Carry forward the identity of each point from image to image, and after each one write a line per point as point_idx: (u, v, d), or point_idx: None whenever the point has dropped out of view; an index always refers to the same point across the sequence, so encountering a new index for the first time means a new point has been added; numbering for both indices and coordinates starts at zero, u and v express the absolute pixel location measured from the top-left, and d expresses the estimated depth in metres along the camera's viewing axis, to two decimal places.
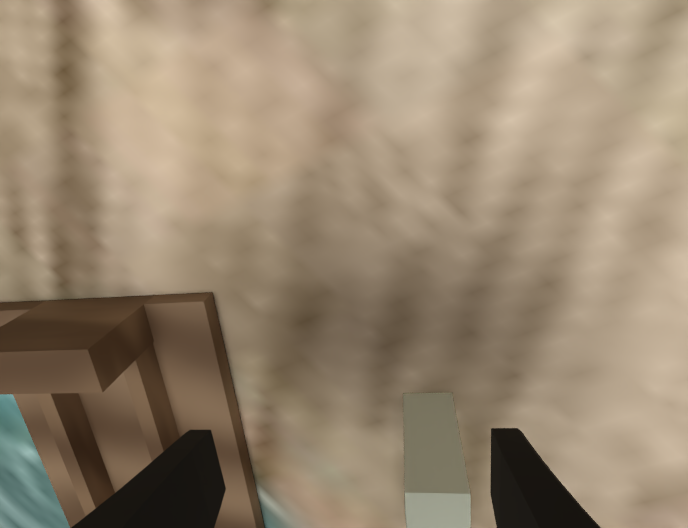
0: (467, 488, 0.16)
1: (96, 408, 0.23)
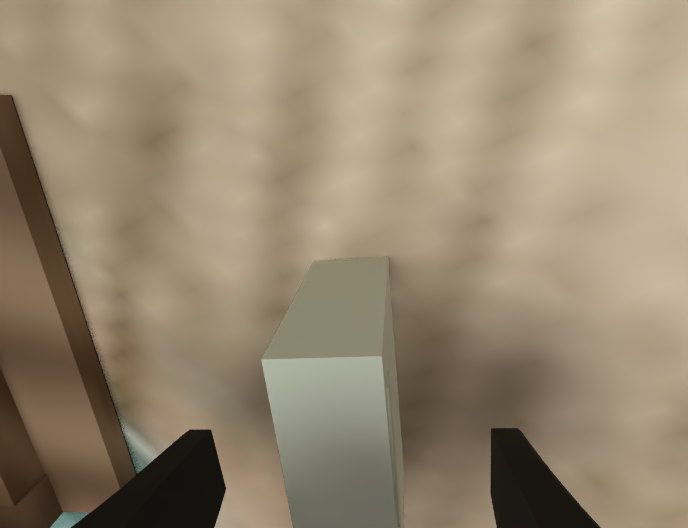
0: (378, 349, 0.09)
1: None
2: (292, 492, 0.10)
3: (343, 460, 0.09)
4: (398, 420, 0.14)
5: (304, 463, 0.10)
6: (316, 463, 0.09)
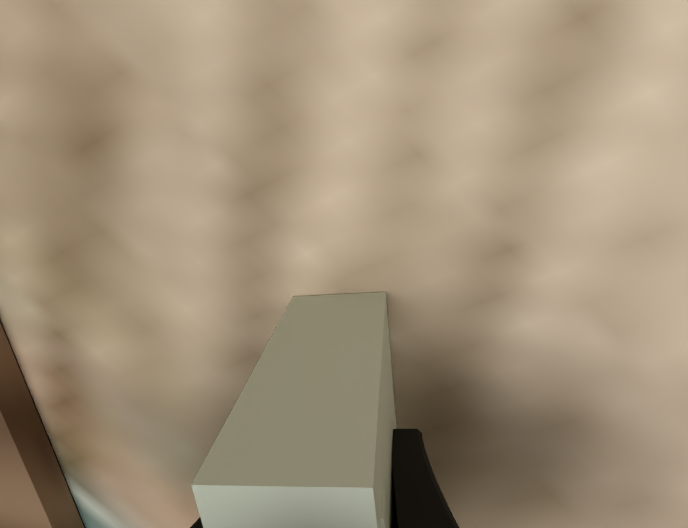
0: (368, 472, 0.06)
1: None
2: None
3: None
4: None
5: None
6: None
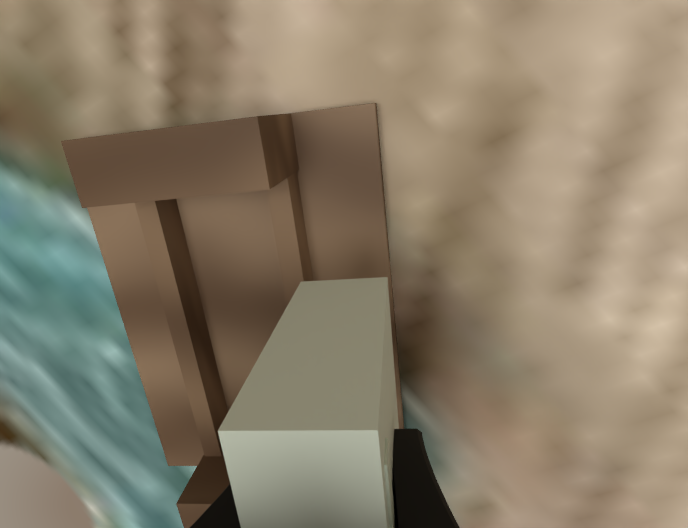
0: (373, 419, 0.06)
1: (211, 275, 0.18)
2: None
3: None
4: None
5: None
6: None
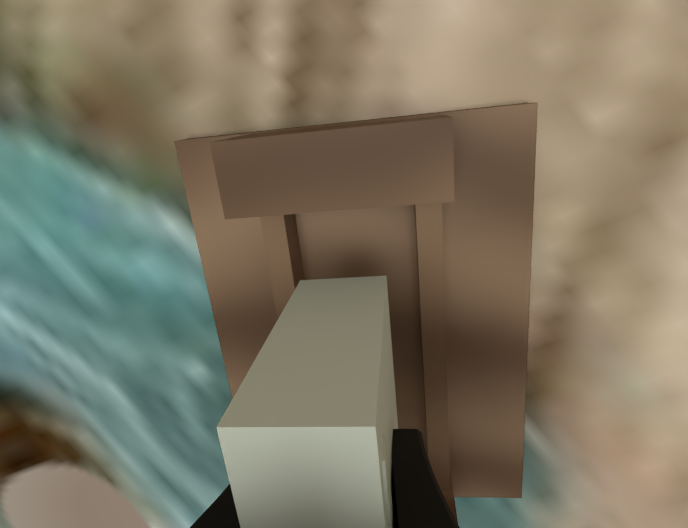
0: (371, 415, 0.06)
1: None
2: None
3: None
4: None
5: None
6: None
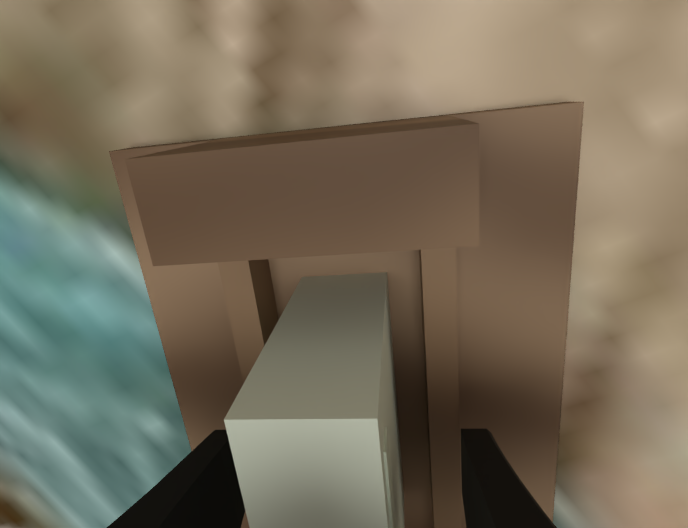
0: (373, 408, 0.07)
1: None
2: None
3: None
4: (398, 460, 0.13)
5: None
6: None
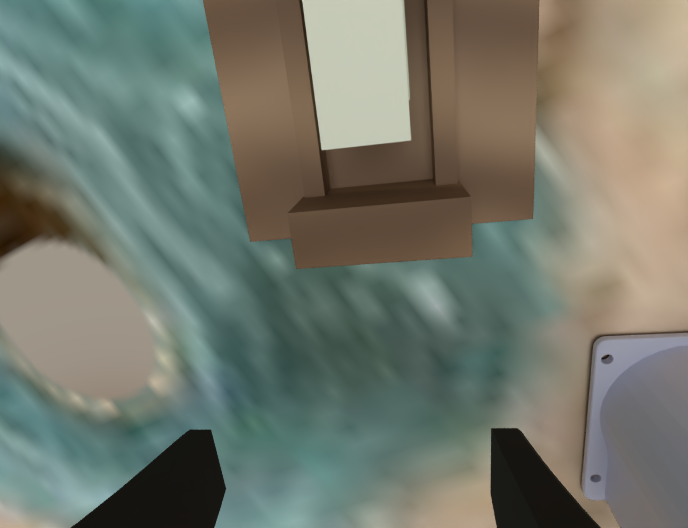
0: None
1: None
2: None
3: None
4: None
5: None
6: None
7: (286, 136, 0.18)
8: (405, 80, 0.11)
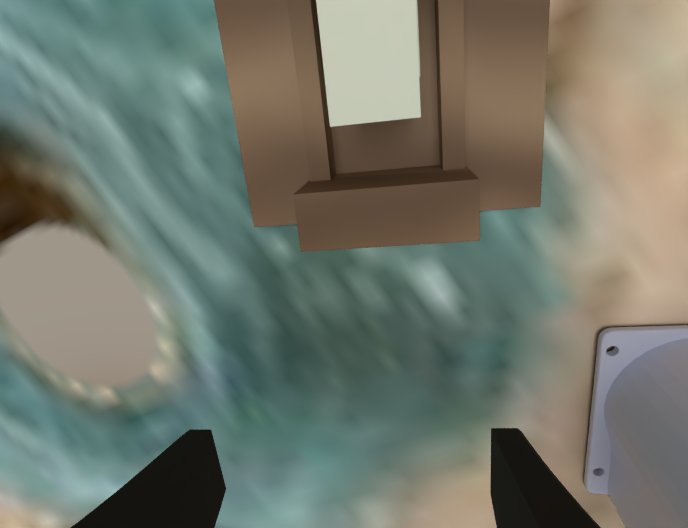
0: None
1: None
2: None
3: None
4: None
5: None
6: None
7: (292, 120, 0.18)
8: (416, 55, 0.11)
